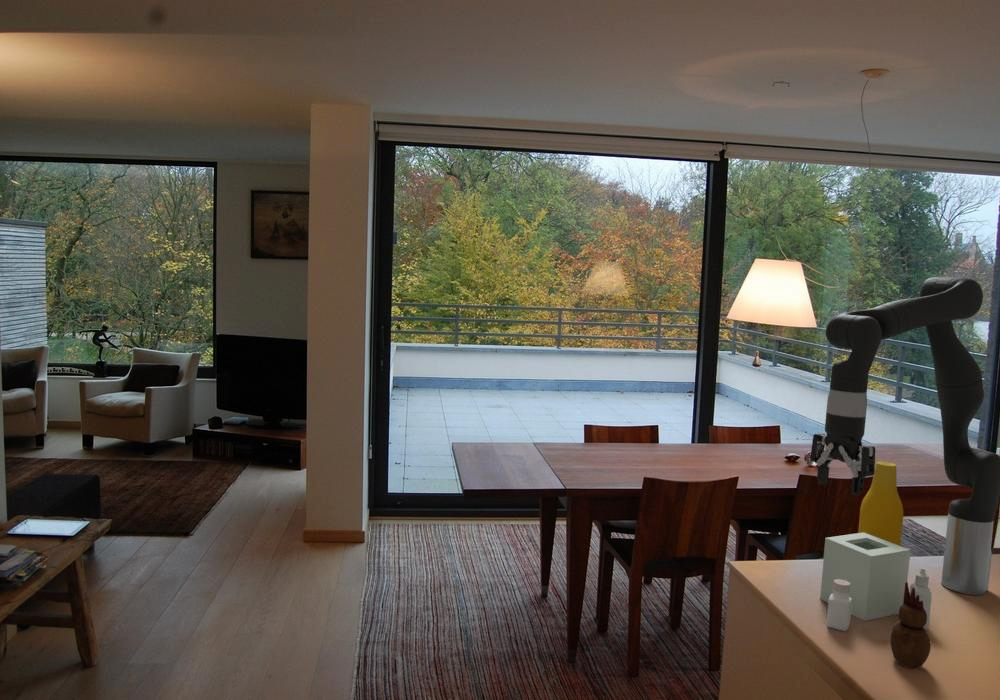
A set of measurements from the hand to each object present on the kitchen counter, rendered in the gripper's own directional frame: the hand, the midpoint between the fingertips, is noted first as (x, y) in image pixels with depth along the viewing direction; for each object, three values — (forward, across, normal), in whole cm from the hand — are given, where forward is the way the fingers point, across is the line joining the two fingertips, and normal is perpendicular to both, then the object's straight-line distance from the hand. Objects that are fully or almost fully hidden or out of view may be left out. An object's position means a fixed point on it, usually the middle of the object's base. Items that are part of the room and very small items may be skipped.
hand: (838, 489), depth 165 cm
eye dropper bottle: (+28, -9, -16) cm, 33 cm away
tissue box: (+28, +2, -12) cm, 30 cm away
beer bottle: (+28, +10, -26) cm, 40 cm away
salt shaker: (+28, -4, +2) cm, 28 cm away
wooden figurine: (+28, -20, +2) cm, 35 cm away
